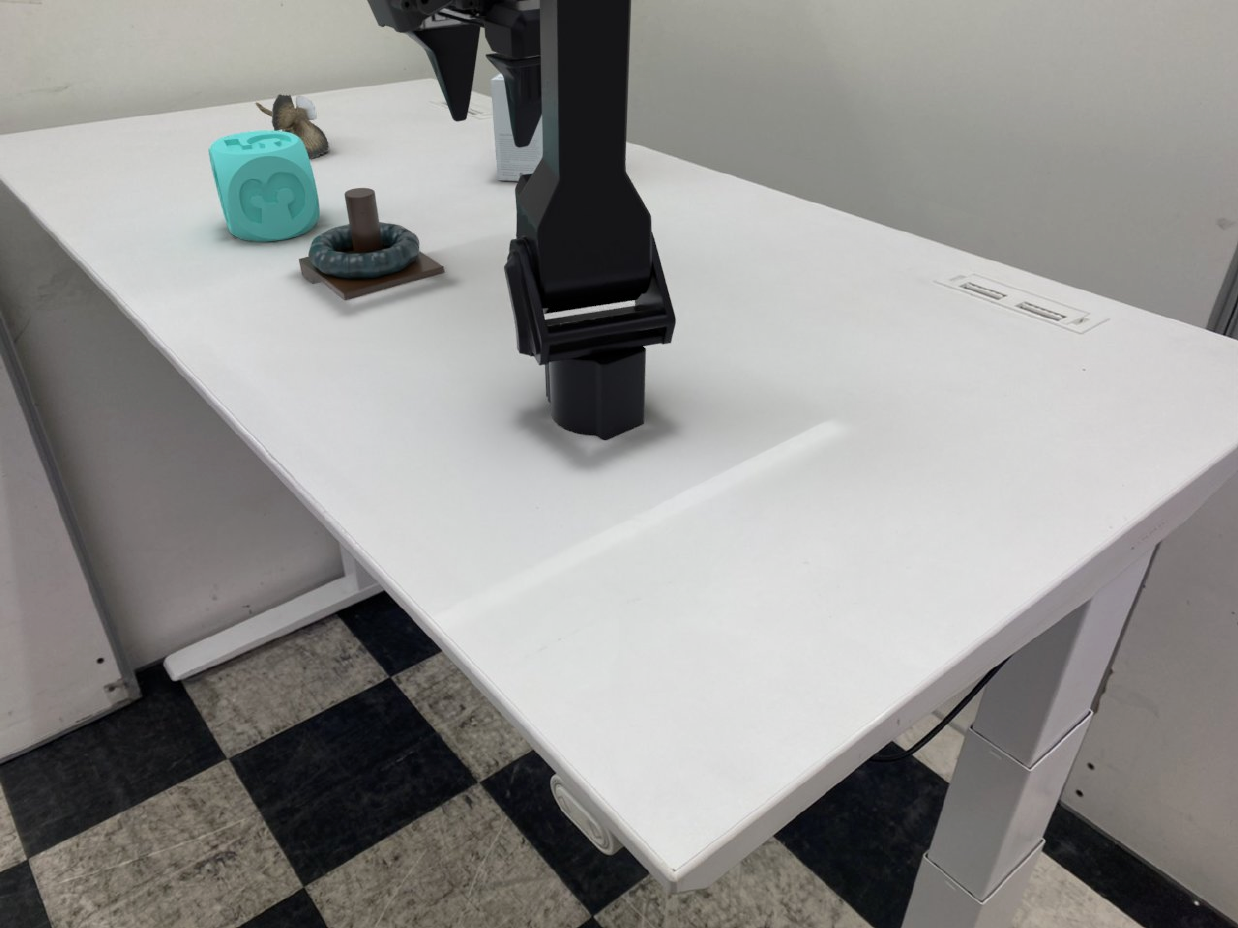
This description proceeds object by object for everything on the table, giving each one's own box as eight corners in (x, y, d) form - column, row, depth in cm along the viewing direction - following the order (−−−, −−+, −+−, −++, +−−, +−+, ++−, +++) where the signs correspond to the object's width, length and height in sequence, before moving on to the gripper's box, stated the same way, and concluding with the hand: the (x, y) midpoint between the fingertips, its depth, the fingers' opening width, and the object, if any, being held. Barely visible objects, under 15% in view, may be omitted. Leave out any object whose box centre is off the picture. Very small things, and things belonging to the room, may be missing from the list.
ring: (439, 264, 78) (437, 241, 77) (340, 292, 73) (335, 268, 72) (390, 233, 84) (387, 211, 83) (294, 257, 79) (290, 234, 78)
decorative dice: (224, 220, 90) (203, 136, 86) (307, 207, 93) (291, 126, 89) (237, 248, 85) (215, 160, 80) (325, 233, 88) (309, 148, 83)
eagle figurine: (243, 135, 110) (259, 140, 103) (264, 77, 109) (281, 77, 102) (305, 163, 114) (325, 169, 107) (325, 108, 114) (346, 110, 106)
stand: (445, 282, 79) (436, 196, 74) (347, 311, 74) (330, 220, 70) (396, 250, 84) (384, 168, 80) (301, 275, 80) (284, 189, 75)
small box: (546, 184, 100) (542, 81, 94) (496, 181, 100) (489, 78, 94) (562, 162, 106) (559, 64, 100) (514, 159, 107) (509, 62, 101)
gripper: (306, -101, 66) (343, 124, 75) (437, -82, 54) (461, 184, 63) (444, -107, 72) (462, 103, 81) (589, -91, 60) (592, 154, 69)
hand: (489, 133), depth 73 cm, fingers open, 9 cm apart
